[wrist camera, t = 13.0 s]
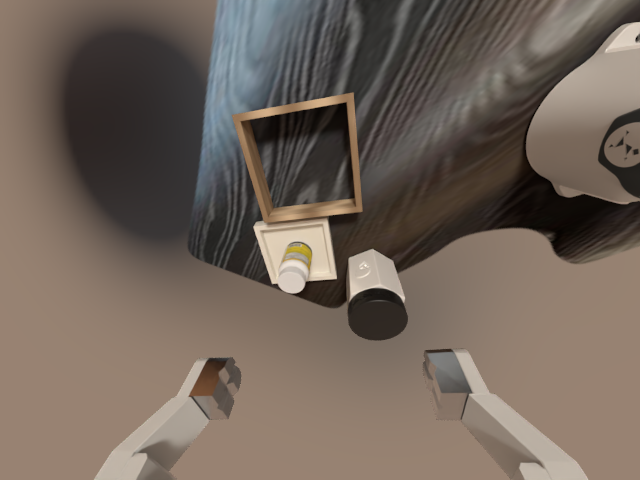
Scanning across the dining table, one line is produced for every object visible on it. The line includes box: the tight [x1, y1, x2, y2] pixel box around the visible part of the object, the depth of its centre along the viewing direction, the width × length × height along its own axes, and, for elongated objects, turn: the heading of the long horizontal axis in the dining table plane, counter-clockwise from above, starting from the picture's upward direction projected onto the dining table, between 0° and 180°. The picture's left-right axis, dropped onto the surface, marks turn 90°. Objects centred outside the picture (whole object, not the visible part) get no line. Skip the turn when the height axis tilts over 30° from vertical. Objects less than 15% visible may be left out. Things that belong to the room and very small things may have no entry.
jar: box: [346, 249, 408, 340], centre depth 38 cm, size 9×8×12 cm
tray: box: [254, 216, 337, 284], centre depth 41 cm, size 12×12×2 cm
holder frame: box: [232, 93, 362, 223], centre depth 33 cm, size 15×15×4 cm
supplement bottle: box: [278, 241, 312, 293], centre depth 38 cm, size 5×5×8 cm
